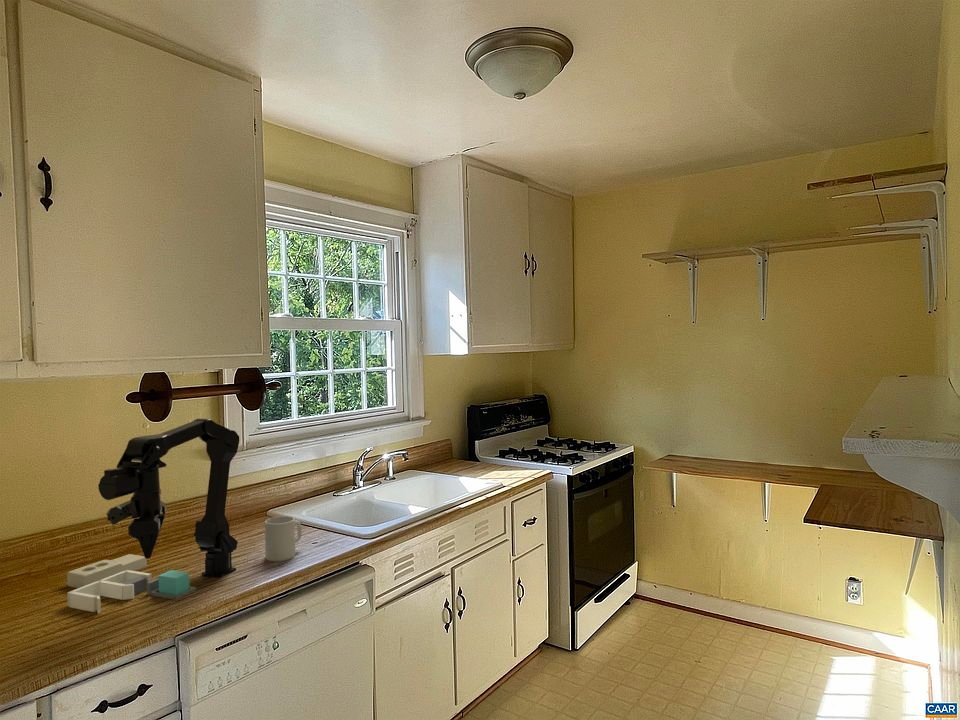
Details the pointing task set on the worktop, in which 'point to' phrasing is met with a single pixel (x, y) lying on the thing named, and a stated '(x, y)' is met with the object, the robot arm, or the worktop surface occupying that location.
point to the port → (108, 590)
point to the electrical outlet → (104, 570)
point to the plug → (173, 582)
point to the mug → (281, 538)
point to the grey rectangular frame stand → (154, 591)
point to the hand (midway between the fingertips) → (150, 551)
